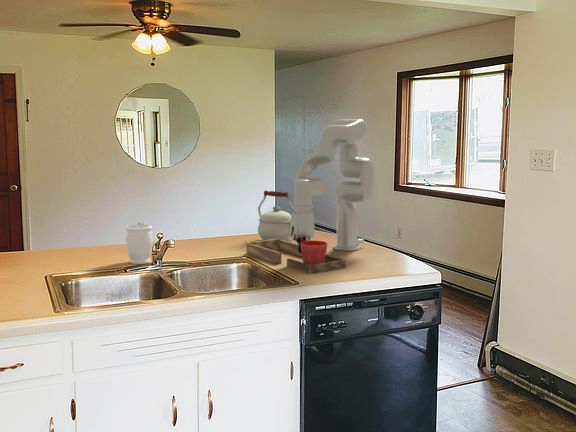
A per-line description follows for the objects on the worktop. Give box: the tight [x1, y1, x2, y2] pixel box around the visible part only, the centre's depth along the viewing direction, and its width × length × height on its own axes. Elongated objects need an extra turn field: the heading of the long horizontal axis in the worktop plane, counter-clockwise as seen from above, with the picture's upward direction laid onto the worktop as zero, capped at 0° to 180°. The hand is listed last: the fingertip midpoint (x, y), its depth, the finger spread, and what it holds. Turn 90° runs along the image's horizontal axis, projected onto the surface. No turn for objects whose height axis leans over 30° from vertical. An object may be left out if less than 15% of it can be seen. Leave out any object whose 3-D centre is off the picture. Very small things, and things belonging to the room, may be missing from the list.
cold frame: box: [245, 239, 302, 264], centre depth 259 cm, size 18×25×5 cm
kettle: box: [257, 190, 294, 242], centre depth 292 cm, size 25×18×25 cm
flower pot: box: [300, 239, 328, 265], centre depth 239 cm, size 11×11×10 cm
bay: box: [286, 254, 347, 274], centre depth 239 cm, size 18×15×3 cm
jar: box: [125, 224, 154, 265], centre depth 243 cm, size 11×10×15 cm
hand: (302, 253), depth 246 cm, fingers closed
